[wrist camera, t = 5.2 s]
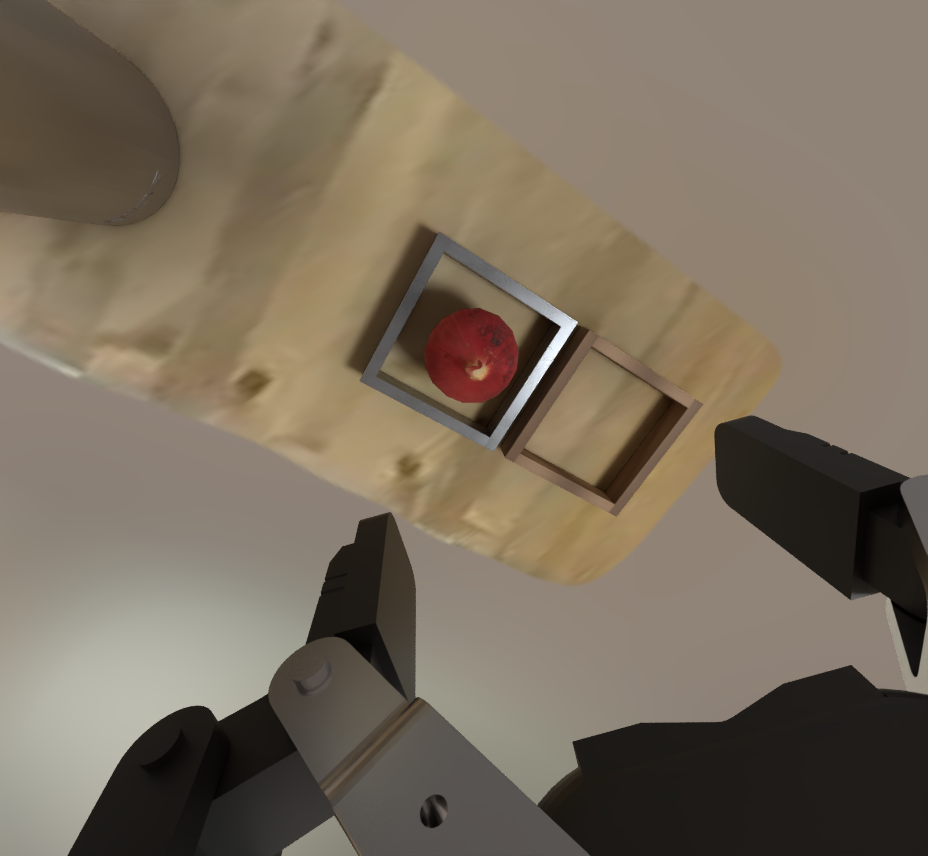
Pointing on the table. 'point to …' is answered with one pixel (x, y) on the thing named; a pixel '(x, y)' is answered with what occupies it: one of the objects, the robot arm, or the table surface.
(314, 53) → the table surface
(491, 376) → the pomegranate
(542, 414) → the walnut frame
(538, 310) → the grey frame
